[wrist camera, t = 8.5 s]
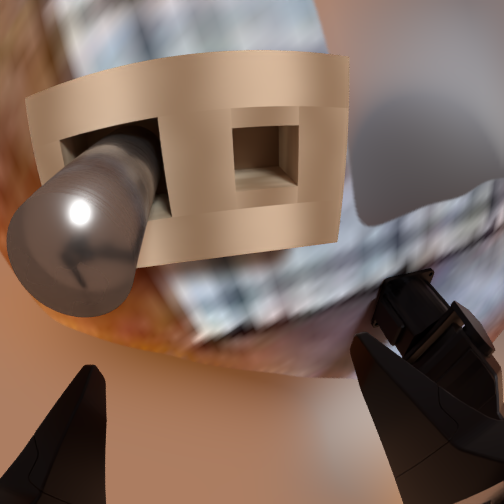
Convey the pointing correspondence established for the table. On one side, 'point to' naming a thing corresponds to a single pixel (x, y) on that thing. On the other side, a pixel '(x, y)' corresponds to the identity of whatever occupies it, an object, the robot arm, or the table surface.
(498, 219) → the table surface
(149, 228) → the bore block
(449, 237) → the table surface
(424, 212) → the table surface
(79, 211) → the peg
